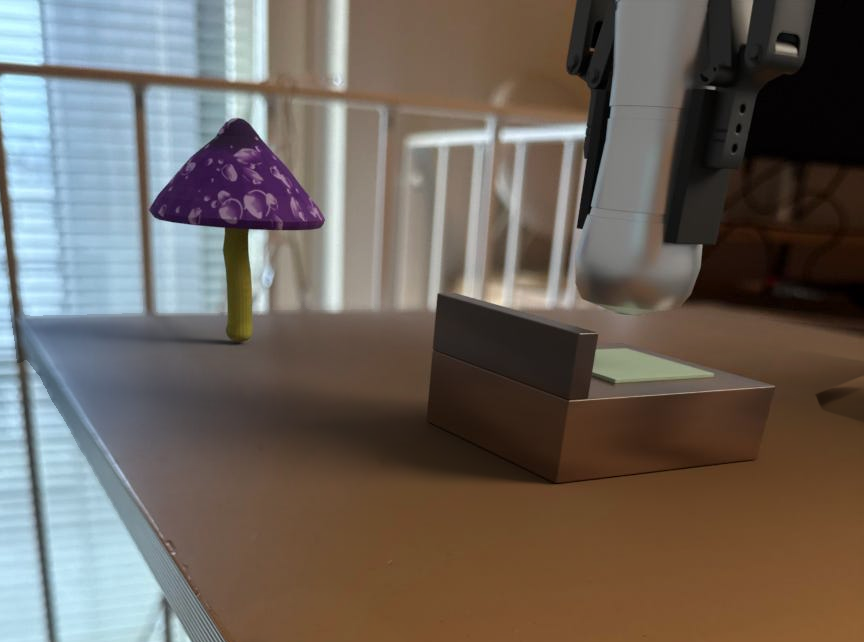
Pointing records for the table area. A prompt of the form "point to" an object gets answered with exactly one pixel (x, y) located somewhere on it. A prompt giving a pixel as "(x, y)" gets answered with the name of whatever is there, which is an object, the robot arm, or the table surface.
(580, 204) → the robot arm
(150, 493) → the table surface
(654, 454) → the metal stand with backrest
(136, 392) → the table surface
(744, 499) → the table surface
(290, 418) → the table surface
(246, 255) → the decorative mushroom
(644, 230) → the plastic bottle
